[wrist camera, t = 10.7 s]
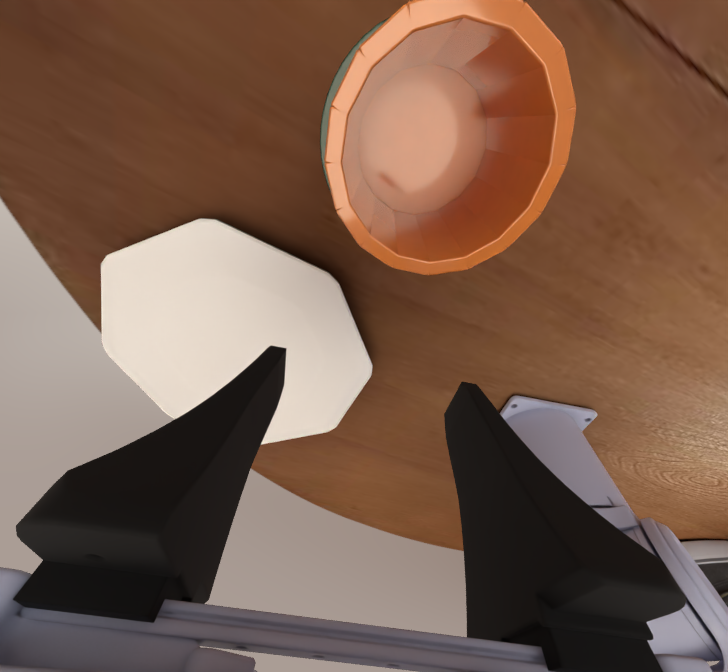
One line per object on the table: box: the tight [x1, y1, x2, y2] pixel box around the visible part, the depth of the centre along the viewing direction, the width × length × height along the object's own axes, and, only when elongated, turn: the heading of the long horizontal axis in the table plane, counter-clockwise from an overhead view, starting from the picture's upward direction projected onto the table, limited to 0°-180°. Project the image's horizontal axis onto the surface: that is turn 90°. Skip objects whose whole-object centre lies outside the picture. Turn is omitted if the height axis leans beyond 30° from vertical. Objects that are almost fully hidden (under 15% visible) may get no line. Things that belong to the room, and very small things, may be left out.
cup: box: [324, 0, 576, 275], centre depth 9 cm, size 5×5×6 cm
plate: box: [101, 218, 373, 444], centre depth 24 cm, size 20×20×2 cm
